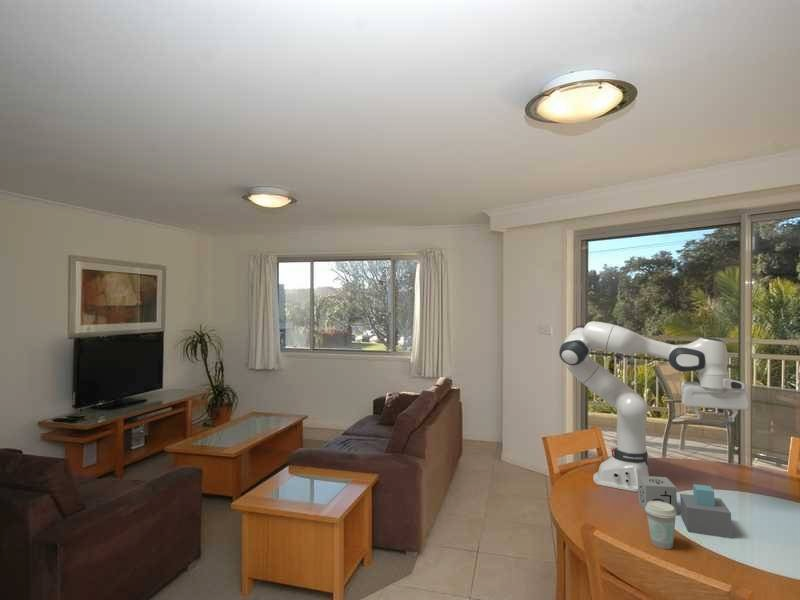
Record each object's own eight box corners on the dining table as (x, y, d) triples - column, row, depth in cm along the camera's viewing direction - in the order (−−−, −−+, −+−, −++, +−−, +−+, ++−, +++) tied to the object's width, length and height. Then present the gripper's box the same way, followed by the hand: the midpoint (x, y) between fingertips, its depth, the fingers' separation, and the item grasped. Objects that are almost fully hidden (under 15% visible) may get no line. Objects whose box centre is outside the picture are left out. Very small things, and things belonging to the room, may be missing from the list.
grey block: (688, 532, 146) (686, 507, 146) (681, 516, 157) (680, 493, 158) (732, 538, 142) (730, 512, 142) (721, 522, 153) (720, 498, 153)
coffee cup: (640, 538, 143) (639, 500, 143) (665, 537, 143) (664, 499, 144) (658, 552, 134) (656, 512, 135) (684, 550, 135) (683, 510, 135)
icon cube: (677, 515, 158) (676, 487, 158) (646, 513, 160) (645, 485, 161) (667, 503, 168) (666, 477, 168) (638, 501, 170) (637, 475, 170)
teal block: (696, 504, 148) (696, 489, 149) (693, 498, 153) (693, 484, 153) (714, 506, 146) (714, 491, 147) (711, 500, 151) (710, 486, 151)
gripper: (681, 382, 162) (683, 420, 162) (750, 384, 154) (752, 424, 154) (678, 379, 168) (680, 416, 168) (745, 382, 160) (747, 420, 159)
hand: (715, 420), depth 161 cm, fingers open, 8 cm apart
